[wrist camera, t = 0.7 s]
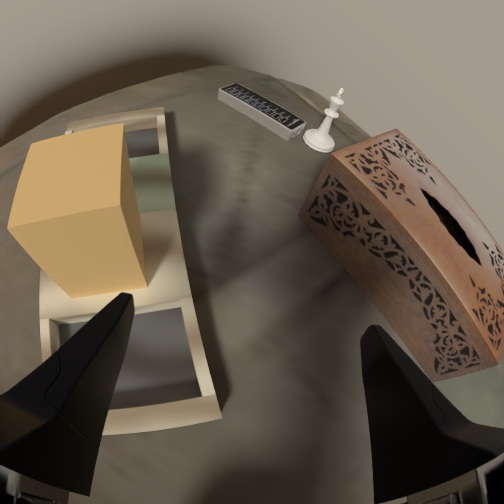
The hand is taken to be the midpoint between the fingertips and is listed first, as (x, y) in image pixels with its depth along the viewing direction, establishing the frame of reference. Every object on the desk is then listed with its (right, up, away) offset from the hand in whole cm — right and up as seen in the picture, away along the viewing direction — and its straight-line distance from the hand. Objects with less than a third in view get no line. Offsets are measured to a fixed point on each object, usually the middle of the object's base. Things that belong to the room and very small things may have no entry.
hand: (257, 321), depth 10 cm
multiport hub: (+1, +24, +31) cm, 40 cm away
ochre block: (-13, +2, +13) cm, 18 cm away
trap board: (-14, +4, +16) cm, 22 cm away
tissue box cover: (+18, 0, +22) cm, 29 cm away
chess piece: (+10, +19, +30) cm, 37 cm away
